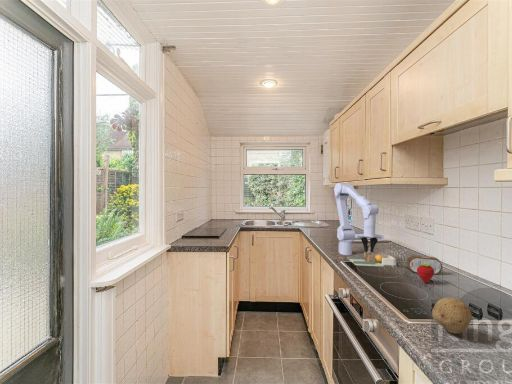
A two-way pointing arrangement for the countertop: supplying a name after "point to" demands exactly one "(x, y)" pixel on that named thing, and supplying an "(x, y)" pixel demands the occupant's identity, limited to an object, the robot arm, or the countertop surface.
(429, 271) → the strawberry
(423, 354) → the countertop surface
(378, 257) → the ball
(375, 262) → the pitch
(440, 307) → the brown lumpy oval
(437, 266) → the tin
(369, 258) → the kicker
